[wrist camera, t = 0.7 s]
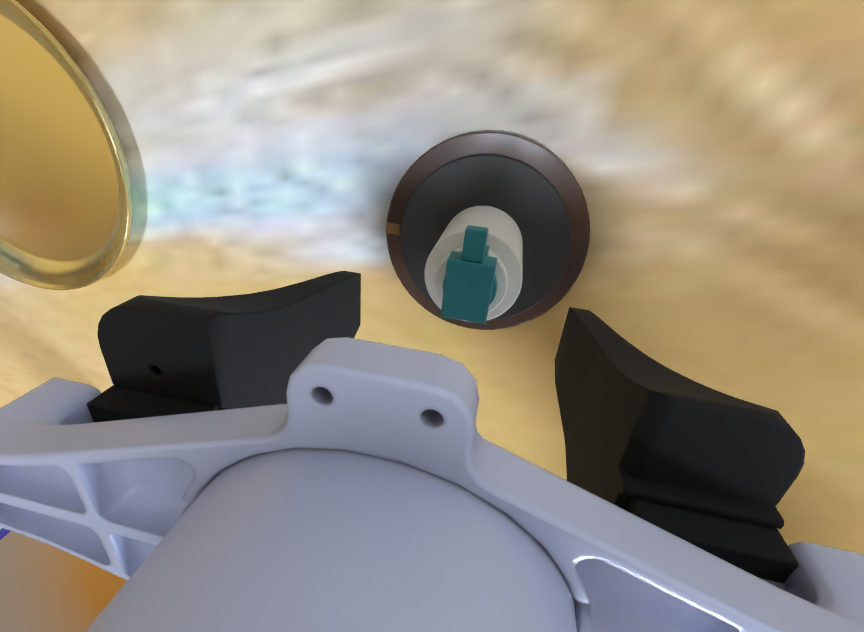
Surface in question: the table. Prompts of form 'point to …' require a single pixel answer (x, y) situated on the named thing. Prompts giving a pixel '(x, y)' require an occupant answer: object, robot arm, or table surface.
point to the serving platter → (56, 164)
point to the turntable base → (518, 150)
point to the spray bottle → (485, 237)
